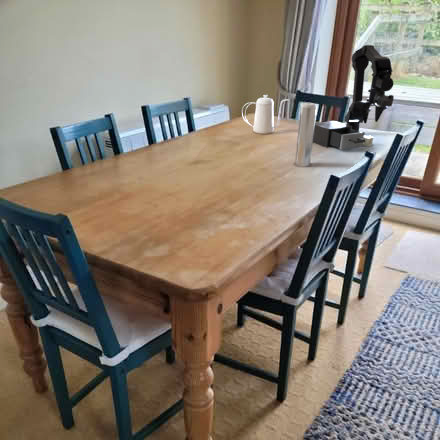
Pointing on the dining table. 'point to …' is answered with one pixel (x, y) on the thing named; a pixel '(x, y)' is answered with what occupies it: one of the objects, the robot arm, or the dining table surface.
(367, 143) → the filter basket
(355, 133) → the drawer
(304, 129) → the silver metal cylinder
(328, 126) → the grey sliding drawer unit
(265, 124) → the coffeepot
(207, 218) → the dining table surface
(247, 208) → the dining table surface
